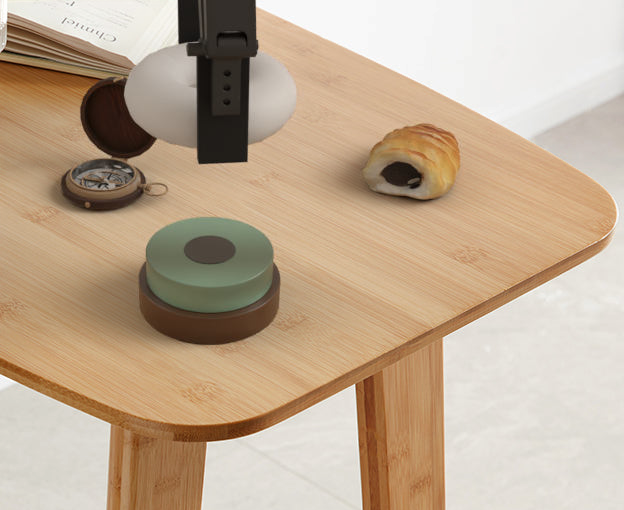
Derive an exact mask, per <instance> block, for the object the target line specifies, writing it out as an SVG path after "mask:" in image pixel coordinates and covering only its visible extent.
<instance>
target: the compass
mask: <svg viewBox="0 0 624 510" xmlns="http://www.w3.org/2000/svg"><path fill="white" fill-rule="evenodd" d="M127 80H128V77H124V76H122V75H119V76H109V77H106V78H103V79H100V80H99V81H97V82H96V83H95V84H93V85H91V87H90V88H88V90H87V91H86V92H85V94H84V95H83V97H82V100H81V103H80V107H79V110H80V111H79V115H80V117H79V119H80V123H81V125H82V130H83V131H84V133H85V135H86V136H87V138H88V140H89V141H90V143H92V144H93V145H94V146H95V147H96V148H97V149H98V150H100V151H101V152H103V153H104V154H105V155H108V156H110V157H98V158H91V159H87V160H84V161H82V162H79V163H78V164H76V165H75V166H73V167H72V168H69V169H67V171H66V172H65V173H64V174H63V175H62V177H61V180H60V188H61V192H62V196H64V198H66V199H67V201H69V202H71V203H73V204H75V205H76V206H78V207H82V208H86V209H90V210H113V209H114V210H115V209H118V208H122V207H123V208H124V207H126V206H128V205H131V204H133V203H134V202H136V201H137V200H139V199H140V198H141V197H142V196H143V194H145V195H146V196H150V197H161V196H164V195H166V194H167V193H168V192H169V187H168V185H167V184H165V183H162V182H156V181H155V182H149V183H147V178H146V176H145V173H144V172H142V170H141V169H139V168H138V167H136V166H135V165H132V164H130V163H128V160H130V159H134V158H136V157H140V156H142V155H143V154H144V153H146V152H147V151H149V150H150V149H151V148H152V147H153V145H154V144H155V143H156V141H157V140H158V138H156V137H153V136H152V135H150V134H149V133H148V132H146V131H145V130H144V129H143V128H142V127H140V126H139V125H138V124H137V123H136V122H135V121H134V120H133V118H132V117H131V115H130V113H129V110H128V107H127V105H126V102H125V97H124V91H125V85H126V82H127ZM154 185H156V186H157V185H159V186H163V187H165V191H164V192H162V193H150V192H151V191H152V189H153V187H152V186H154Z"/></svg>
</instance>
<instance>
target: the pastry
mask: <svg viewBox="0 0 624 510" xmlns="http://www.w3.org/2000/svg"><path fill="white" fill-rule="evenodd" d="M460 151H461V150H460V148H459V142H458V140H457V139H456V137H455V135H454V134H453V133H452V132H451V131H448V130H445V129H443V128H441V127H437V126H435V124H433V123H432V124H431V123H419V124H415V125H412V126H411V125H410V126H409V125H407V126H403V127H401V128H395V129H394V130H392V131H390V132H387V133H386V134H385V135H384V137H383V138H382V139H381V140H380V141H378V142H376V143H375V144H374V145H373V147H372V148H371V150H370V153H369V156H368V162H367V164H366V166H365V168H363V170H362V177H363V180H364V181H365V182H366V183H367V185H368V188H369V189H370V190H372V191H373V192H375V193H380V194H385V195H388V196H399V197H400V196H403V197H404V196H405V197H408V198H412V199H416V200H429V199H432V200H433V199H435V200H436V199H438V198H440V197H442V196H444V195H446V194H448V193H449V192H450V190H451V189H452V188H453V186H454V184H455V181H456V178H457V175H458V173H459V170H460V169H461V155H460Z"/></svg>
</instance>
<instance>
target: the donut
mask: <svg viewBox="0 0 624 510" xmlns="http://www.w3.org/2000/svg"><path fill="white" fill-rule="evenodd" d="M189 43H198V42H189ZM187 44H188V43H183V44H178V43H177V44H174V45H169V46H165V47H163V48H160V49H158V50H156V51H153V52H151V53H148V54H147V55H146V56H145V57H143V59H142V60H140V61H139V62H138V63H137V64H136V65H134V66H133V67H132V68H131V70H130V72H129V74H128V77H127V79H128V80H127V82H126V85H125V91H124V97H125V102H126V105H127V107H128V110H129V113H130V115H131V117H132V118H133V120H134V121H135V122H136V123H137V124H138V125H139V126H140V127H142V128H143V129H144V130H145V131H146V132H148V133H149V134H150V135H152V136H153V137H156V138H157V140H161V141H163V142H165V143H167V144H169V145H174V146H178V147H183V148H188V149H195V150H197V83H196V56H187V51H186V46H187ZM297 90H298V89H297V84H296V81H295V80H294V77H293V76H292V75H291V73H290V72H289V69H288V68H287V67H286V66H285V65H284V64H283V63H282V62H281V61H280V60H279V59H277V58H276V57H273V56H272V55H271V54H269V53H267V52H265V51H263V50H260V49H258V50H257V55H256V57H250V77H249V122H248V146H251V145H254V144H257V143H260V142H263V141H265V140H266V139H269V138H270V137H272V136H274V135H276V134H277V133H279V132H280V131H281V130H282V129H283V128H284V127H285V125H286V124H287V123H288V122H289V121H290V120H291V118H292V116H293V115H294V113H295V111H296V106H297V96H298V95H297V93H298V91H297Z"/></svg>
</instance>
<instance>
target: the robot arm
mask: <svg viewBox="0 0 624 510" xmlns="http://www.w3.org/2000/svg"><path fill="white" fill-rule="evenodd" d="M189 42H198V43H189ZM183 43H188V44H187V46H186V51H187V56H196V83H197V149H196V160H197V164H198V165H215V164H239V163H240V164H241V163H248V162H249V159H248V158H249V145H248V122H249V77H250V57H256V55H257V50H259V49H260V48H259V46H260V45H259V39H258V37H257V0H177V45H178V44H183Z"/></svg>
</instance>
